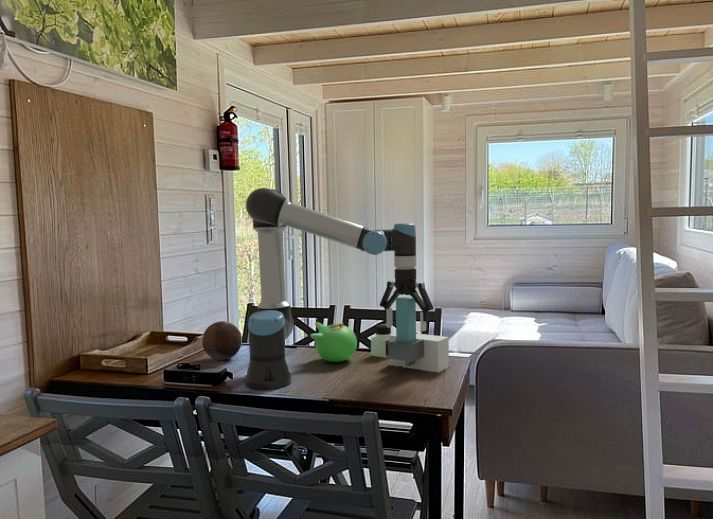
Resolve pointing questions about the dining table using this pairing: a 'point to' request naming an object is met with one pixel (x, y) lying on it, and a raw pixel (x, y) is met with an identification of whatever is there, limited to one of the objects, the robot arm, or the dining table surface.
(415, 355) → the box
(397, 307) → the rail post
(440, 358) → the stand
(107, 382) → the dining table surface
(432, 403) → the dining table surface
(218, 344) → the wooden sphere
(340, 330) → the green round body
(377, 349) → the medicine bottle
